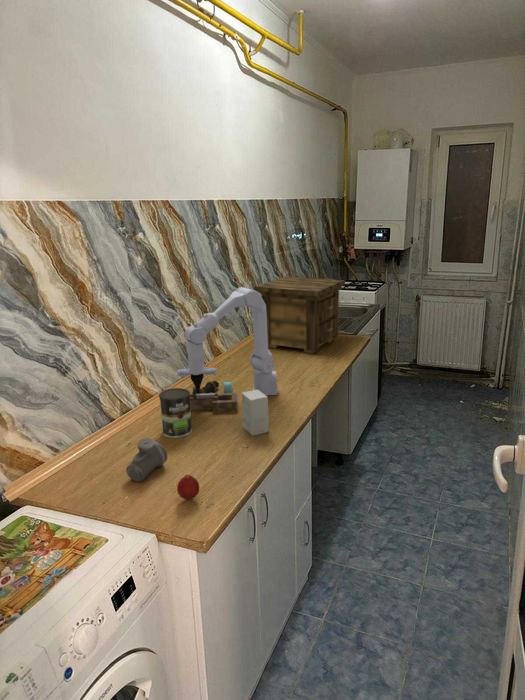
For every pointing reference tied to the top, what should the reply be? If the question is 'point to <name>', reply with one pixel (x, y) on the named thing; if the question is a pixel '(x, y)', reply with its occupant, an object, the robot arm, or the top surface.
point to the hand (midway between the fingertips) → (198, 392)
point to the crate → (301, 311)
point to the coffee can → (175, 412)
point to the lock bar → (201, 396)
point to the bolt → (209, 387)
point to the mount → (216, 403)
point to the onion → (188, 487)
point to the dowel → (228, 387)
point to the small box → (255, 412)
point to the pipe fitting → (146, 459)
